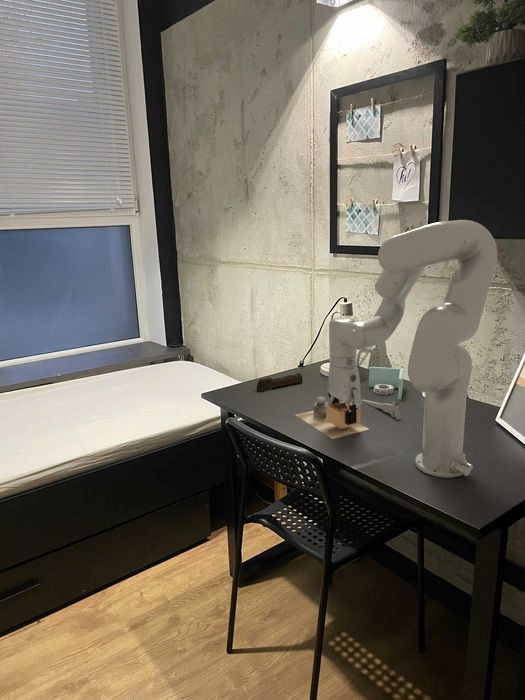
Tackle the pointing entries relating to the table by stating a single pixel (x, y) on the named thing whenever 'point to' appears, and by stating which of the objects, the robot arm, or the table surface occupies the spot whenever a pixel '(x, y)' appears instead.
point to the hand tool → (278, 382)
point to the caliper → (386, 407)
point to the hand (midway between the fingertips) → (343, 419)
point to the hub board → (320, 421)
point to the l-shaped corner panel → (386, 380)
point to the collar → (340, 415)
